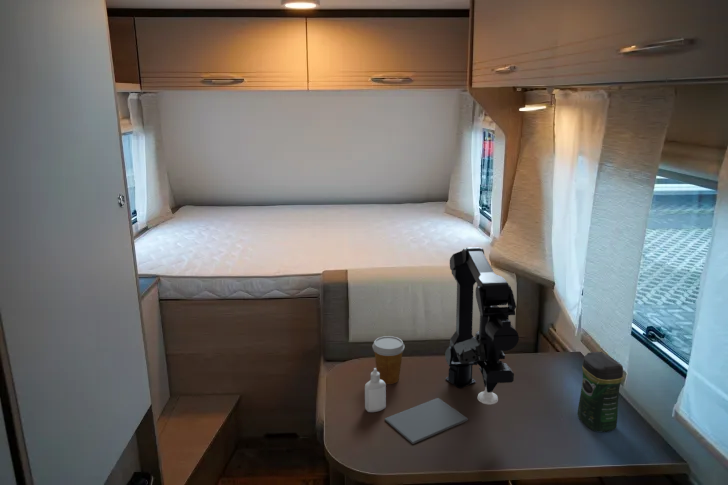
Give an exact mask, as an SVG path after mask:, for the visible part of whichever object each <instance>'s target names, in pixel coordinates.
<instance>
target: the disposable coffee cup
mask: <svg viewBox="0 0 728 485" xmlns="http://www.w3.org/2000/svg"><path fill="white" fill-rule="evenodd" d="M404 350H405V344H404V342H403V340H402V339H401V338H400V337H397V336H392V335H385V336H379V337H377V338H376V339H375V340H373V344H372V351H373V352H374V359H375V366H376V367H375V368H376V369H377V372H379V373H380V379H381V380H383V381H384V382H385V384H386V385H393V384H396V383H397V382H399V380H400V373H401V368H402V367H401V366H402V361H403V360H402V359H403V353H404Z"/></svg>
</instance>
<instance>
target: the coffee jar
mask: <svg viewBox="0 0 728 485" xmlns="http://www.w3.org/2000/svg"><path fill="white" fill-rule="evenodd" d="M581 365H582V368H581V369H582V381H581V388H580V396H579V400H578V401H579V402H578V406H577V414H576V415H577V417H578V418H579V420H580V421H581V423H583V425H585V426H586V427H587V428H589V429H590V430H591V431H594V432H600V433H609V432H612V431H614V430H616V428H617V426H618V425H617V424H618V416H619V415H618V414H619V413H618V410H619V398H620V396H619V395H620V387H621V382H622V381H623V378H624V366H623V365H622V363H620V362H618V361H617V360H616V359H614V358H613V357H611V356H609V355H608V354H606V353H604V352H603V351H592V352H587V353H586V355H584V357H583V360H582V364H581Z"/></svg>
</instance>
